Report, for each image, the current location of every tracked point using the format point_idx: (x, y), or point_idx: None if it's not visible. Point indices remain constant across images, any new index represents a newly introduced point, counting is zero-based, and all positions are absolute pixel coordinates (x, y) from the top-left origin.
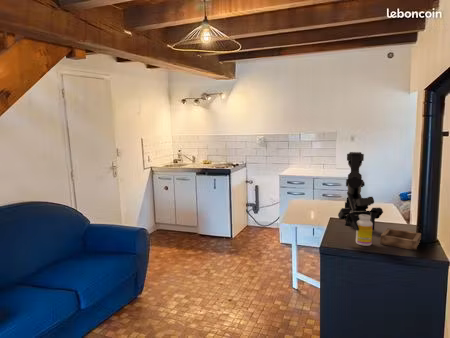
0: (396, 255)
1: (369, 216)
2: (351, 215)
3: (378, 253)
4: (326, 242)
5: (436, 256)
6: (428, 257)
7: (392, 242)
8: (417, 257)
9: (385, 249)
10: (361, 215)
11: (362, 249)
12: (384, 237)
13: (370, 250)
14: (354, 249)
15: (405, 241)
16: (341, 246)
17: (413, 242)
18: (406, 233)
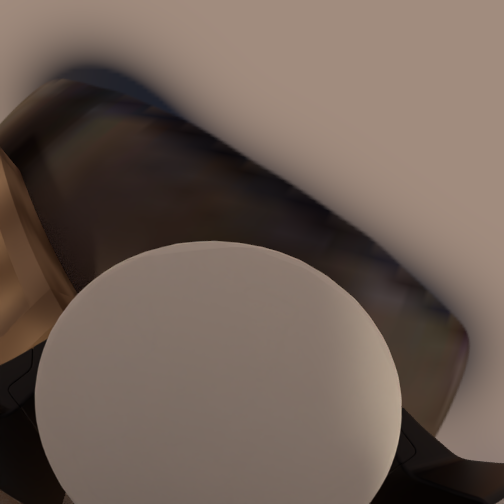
0: (165, 126)
1: (147, 255)
2: (497, 464)
3: (242, 167)
4: (441, 415)
5: (30, 106)
6: (62, 97)
7: (45, 249)
8: (98, 98)
9: (144, 214)
10: (352, 445)
11: (301, 252)
12: (55, 289)
13: (258, 222)
14: (353, 266)
15: (12, 183)
16: (402, 336)
17: (2, 157)
18: None
